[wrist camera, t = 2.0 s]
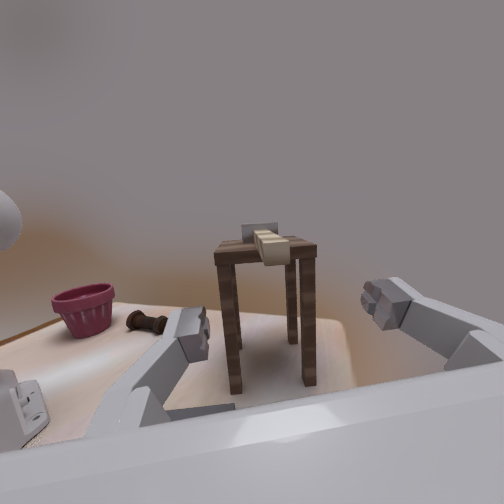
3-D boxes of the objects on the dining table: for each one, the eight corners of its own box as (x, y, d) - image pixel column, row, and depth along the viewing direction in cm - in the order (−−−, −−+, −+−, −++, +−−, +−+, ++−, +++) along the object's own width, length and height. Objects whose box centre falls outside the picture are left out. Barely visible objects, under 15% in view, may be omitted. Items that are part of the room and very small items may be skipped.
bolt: (173, 340, 54) (133, 332, 59) (182, 324, 57) (144, 317, 62) (163, 330, 50) (122, 322, 55) (174, 313, 54) (134, 307, 59)
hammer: (311, 262, 20) (310, 227, 19) (243, 268, 19) (240, 232, 19) (275, 238, 41) (274, 221, 41) (242, 240, 41) (241, 223, 40)
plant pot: (130, 321, 63) (123, 284, 60) (79, 349, 50) (67, 303, 48) (104, 314, 69) (96, 281, 66) (52, 338, 56) (40, 297, 54)
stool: (317, 386, 35) (316, 244, 30) (229, 395, 34) (213, 253, 29) (296, 337, 48) (293, 235, 43) (233, 344, 48) (222, 241, 43)
